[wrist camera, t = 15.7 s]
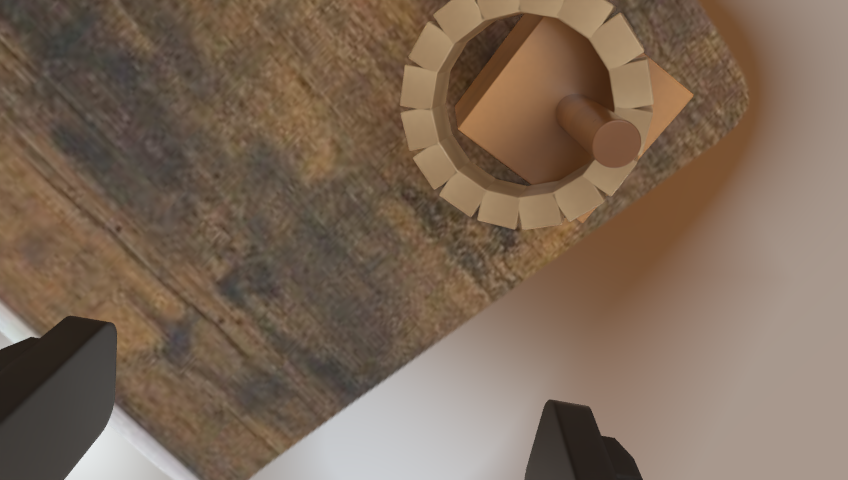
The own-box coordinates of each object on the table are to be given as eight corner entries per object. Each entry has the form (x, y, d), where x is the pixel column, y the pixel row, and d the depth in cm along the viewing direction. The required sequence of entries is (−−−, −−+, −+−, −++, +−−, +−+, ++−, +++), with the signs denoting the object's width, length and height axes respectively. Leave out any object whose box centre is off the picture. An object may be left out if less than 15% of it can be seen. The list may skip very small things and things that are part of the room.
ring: (375, 72, 33) (356, 76, 31) (564, -80, 29) (558, -87, 26) (496, 253, 34) (486, 269, 32) (700, 136, 30) (704, 145, 27)
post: (645, 78, 39) (776, 122, 23) (556, 184, 41) (624, 286, 26) (540, -8, 37) (607, -22, 22) (454, 106, 39) (462, 166, 24)
